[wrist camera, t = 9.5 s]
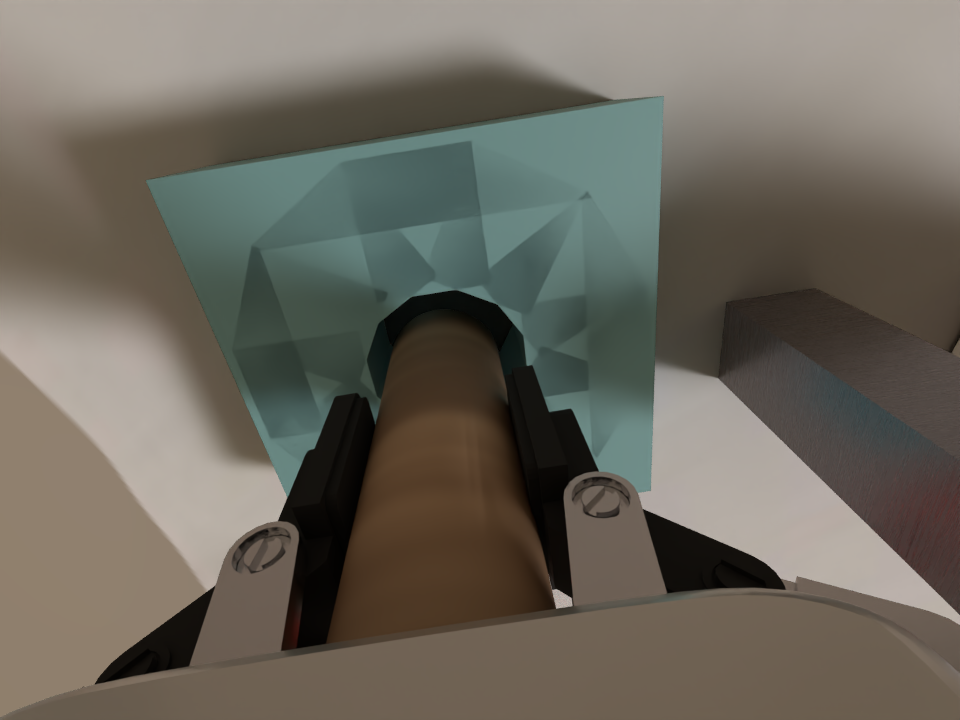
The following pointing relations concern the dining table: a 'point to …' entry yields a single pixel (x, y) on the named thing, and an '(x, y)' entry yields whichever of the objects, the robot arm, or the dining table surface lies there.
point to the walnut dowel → (441, 494)
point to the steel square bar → (859, 416)
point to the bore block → (437, 265)
